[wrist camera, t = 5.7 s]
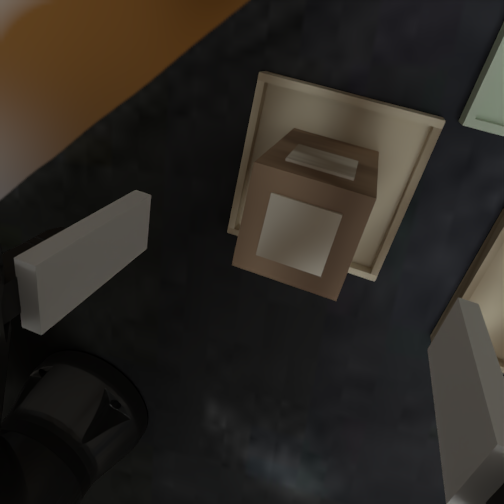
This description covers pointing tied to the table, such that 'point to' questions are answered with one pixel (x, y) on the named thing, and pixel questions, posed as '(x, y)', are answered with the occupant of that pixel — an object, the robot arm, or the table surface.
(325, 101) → the tray
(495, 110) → the tray
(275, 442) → the table surface
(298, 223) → the letter block
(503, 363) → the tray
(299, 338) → the table surface
